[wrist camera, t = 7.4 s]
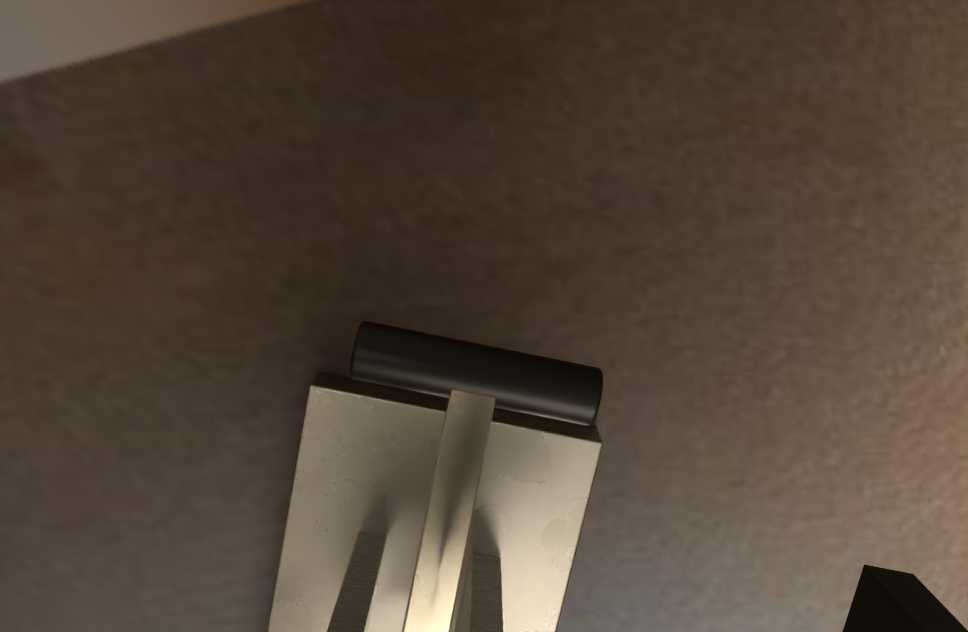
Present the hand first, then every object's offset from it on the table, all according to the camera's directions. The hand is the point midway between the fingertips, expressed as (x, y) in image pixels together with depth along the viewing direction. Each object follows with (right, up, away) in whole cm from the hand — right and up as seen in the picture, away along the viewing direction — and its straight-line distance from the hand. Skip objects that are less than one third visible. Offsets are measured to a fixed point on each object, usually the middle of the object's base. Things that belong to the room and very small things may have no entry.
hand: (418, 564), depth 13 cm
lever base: (-1, -6, +19) cm, 20 cm away
